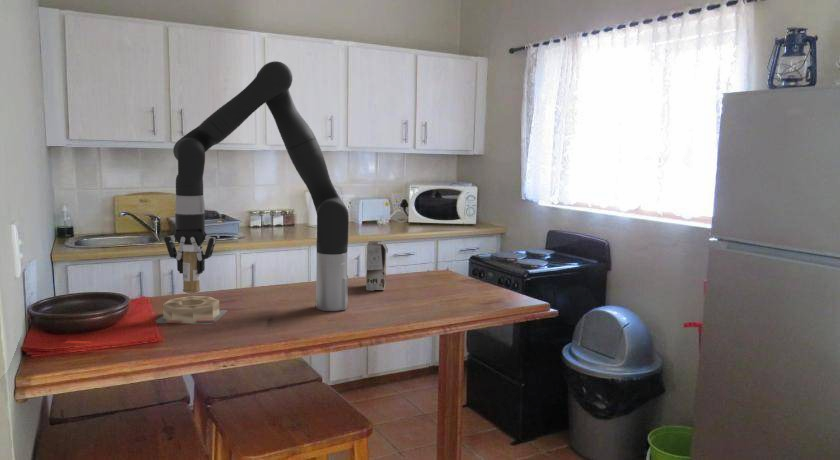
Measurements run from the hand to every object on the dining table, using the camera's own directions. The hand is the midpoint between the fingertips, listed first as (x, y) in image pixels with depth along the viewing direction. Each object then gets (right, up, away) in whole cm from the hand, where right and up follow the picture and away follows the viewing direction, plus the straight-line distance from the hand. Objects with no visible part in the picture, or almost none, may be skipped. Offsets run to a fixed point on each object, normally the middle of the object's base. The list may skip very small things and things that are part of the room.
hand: (191, 272), depth 166 cm
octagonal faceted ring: (0, -12, +1) cm, 12 cm away
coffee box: (+48, -9, +45) cm, 66 cm away
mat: (0, -13, +2) cm, 13 cm away
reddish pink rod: (+2, -13, -4) cm, 14 cm away
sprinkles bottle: (0, -5, +1) cm, 5 cm away
